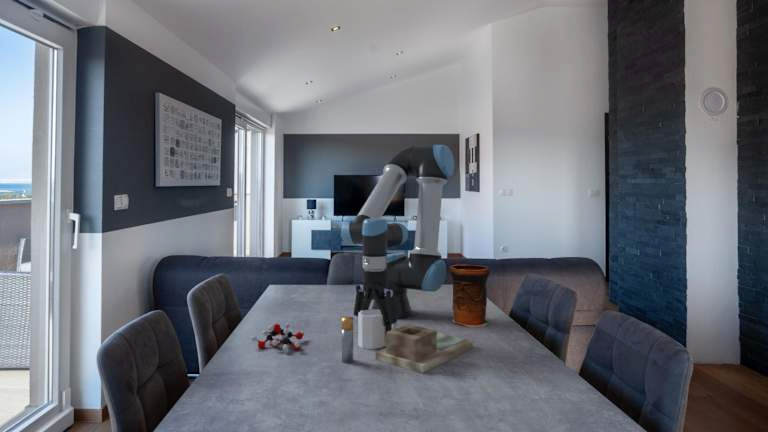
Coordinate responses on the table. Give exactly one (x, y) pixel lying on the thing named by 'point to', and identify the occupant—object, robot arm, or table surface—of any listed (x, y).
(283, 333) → the molecular model
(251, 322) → the table surface
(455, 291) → the vessel
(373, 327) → the mug
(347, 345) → the cylindrical pin
